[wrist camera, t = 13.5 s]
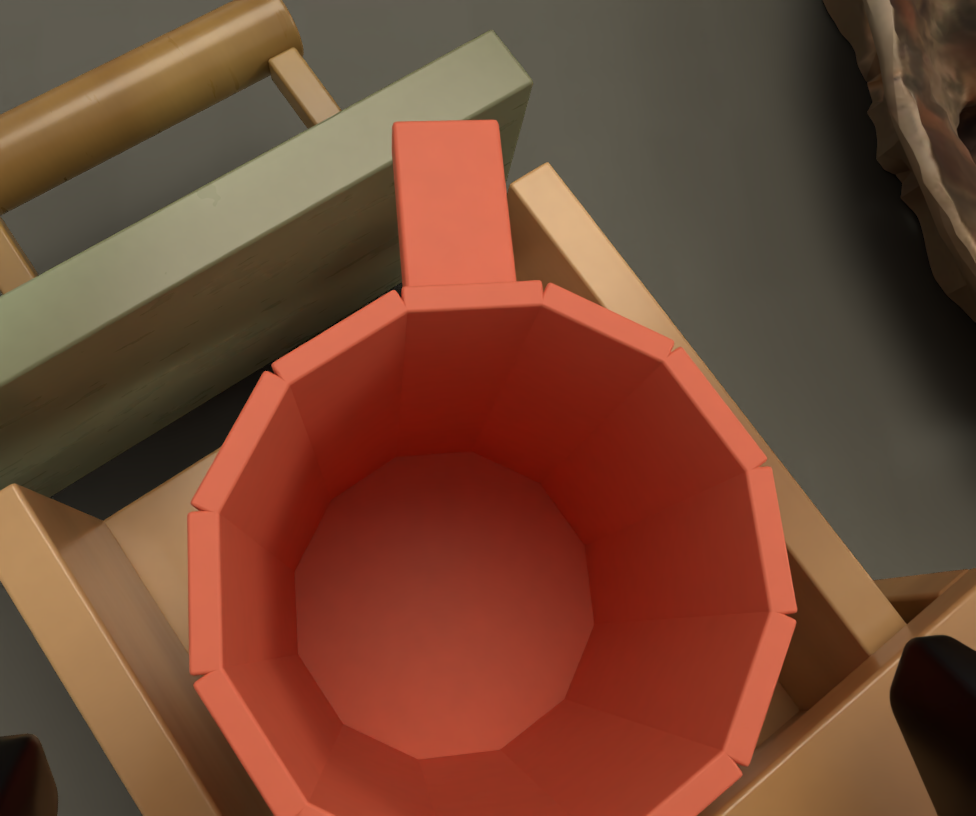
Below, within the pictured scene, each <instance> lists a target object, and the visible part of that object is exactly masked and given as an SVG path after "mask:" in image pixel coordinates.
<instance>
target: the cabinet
mask: <svg viewBox="0 0 976 816" xmlns="http://www.w3.org/2000/svg"><path fill="white" fill-rule="evenodd" d="M873 581H874V583H875V584H876V585H877V586H878V588H879V589H880V590H881V592H882V593H883V594H884V595H885V597H886V598H887V599H888V601H889V602H890V603H891V604H892V606H893V607H894V608H895V610H896V611H897V612H898V614H899V615H900V616H901V617H902V619H903V620H904V621H905V623H906V624H907V625H906V626H905V627H903V628H902V629H901V630H900V631H899V632H898V633H897V634H895V635H894V636H893V637H892V638H891V639H890V640H889V641H887V642H886V643H885V644H884V645H883V646H882V647H880V648H879V649H878V650H877V651H876V652H875V653H874V654H872V655H871V656H870V657H869V658H868V659H867V660H866V661H864V662H863V663H862V664H861V665H860V666H859V667H858V668H856V669H855V670H854V671H853V672H852V673H851V674H849V675H848V676H847V677H846V678H845V679H844V680H843V681H841V682H840V683H839V684H838V685H837V686H836V687H835V688H833V689H832V690H831V691H830V692H829V693H828V694H827V695H825V696H824V697H823V698H822V699H821V700H820V701H819V702H817V703H816V704H815V705H814V706H813V707H812V708H810V709H809V710H808V711H807V712H806V713H805V714H804V715H802V716H801V717H800V718H799V719H798V720H797V721H796V722H794V723H793V724H792V725H791V726H790V727H789V728H788V729H786V730H785V731H784V732H783V733H782V734H781V735H780V736H778V737H777V738H776V739H775V740H774V741H773V742H771V743H770V744H769V745H768V746H767V747H766V748H765V749H763V750H762V751H761V752H760V753H759V754H758V755H757V756H755V757H754V758H753V759H752V760H751V762H750V765H749V766H748V767H743V768H742V769H740V770H741V771H742V774H743V775H742V777H741V778H740V779H739V780H737V781H736V782H735V783H734V784H733V785H732V786H731V787H729V788H728V789H727V790H726V791H725V792H724V793H722V794H721V795H720V796H719V797H718V798H717V799H716V800H714V801H713V802H712V803H711V804H710V805H709V806H708V807H706V808H705V809H704V810H703V811H702V812H701V813H699V814H698V815H697V816H938V815H937V813H936V811H935V808H934V806H933V804H932V802H931V799H930V797H929V795H928V792H927V790H926V788H925V786H924V783H923V781H922V779H921V776H920V774H919V772H918V770H917V767H916V765H915V763H914V760H913V758H912V756H911V754H910V751H909V749H908V747H907V744H906V742H905V740H904V738H903V735H902V733H901V731H900V728H899V726H898V724H897V722H896V719H895V717H894V715H893V712H892V709H891V705H890V698H889V695H890V687H891V684H892V681H893V678H894V675H895V672H896V669H897V666H898V663H899V661H900V658H901V655H902V652H903V649H904V647H905V644H906V643H907V642H908V641H909V640H910V639H912V638H915V637H923V636H932V635H947V636H950V637H953V638H955V639H956V640H958V641H960V642H962V643H963V644H965V645H967V646H968V647H970V648H972V649H973V650H975V651H976V568H973V569H970V570H968V569H963V570H955V571H947V572H938V573H930V574H922V575H913V576H905V577H897V578H888V579H880V580H873Z"/></svg>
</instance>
